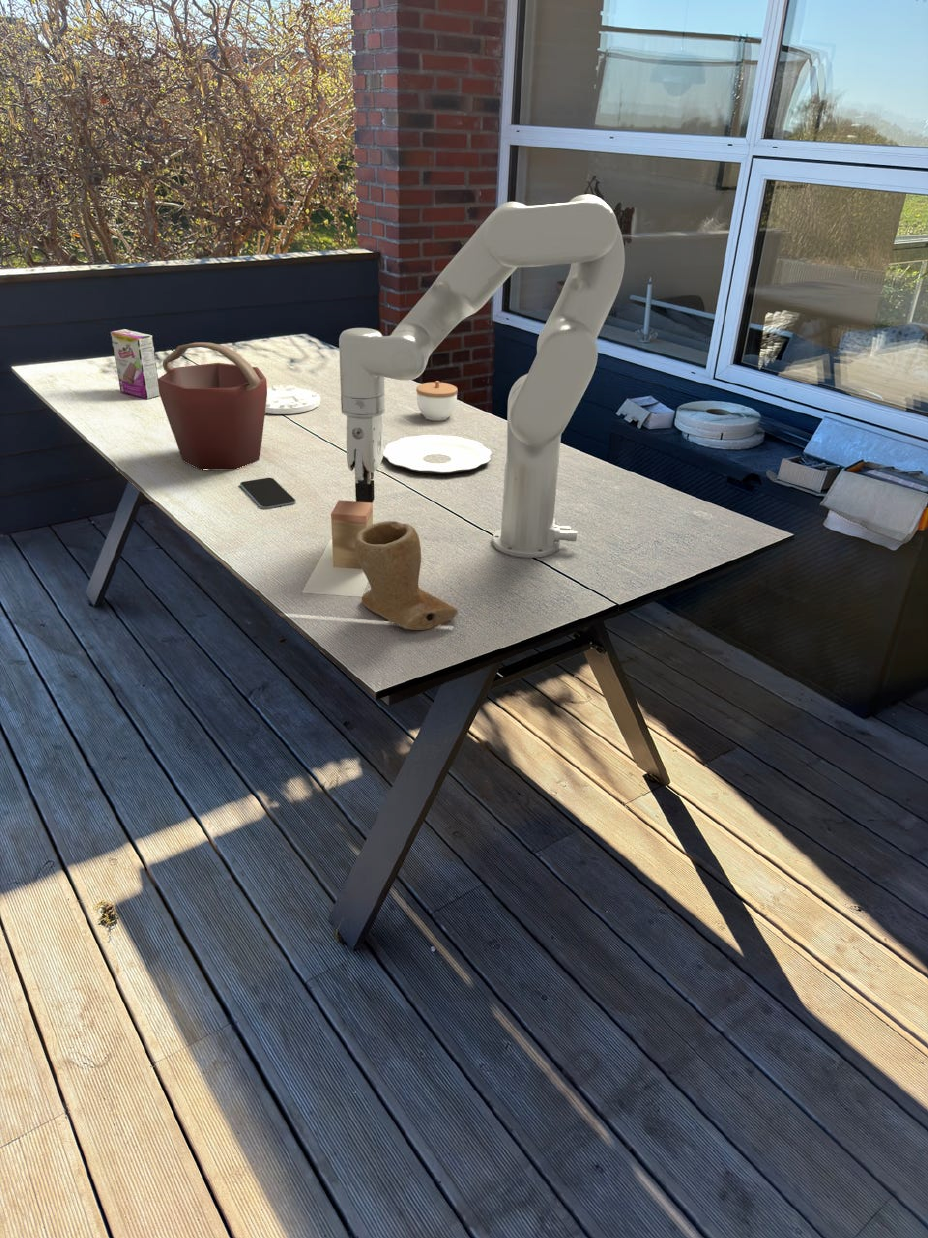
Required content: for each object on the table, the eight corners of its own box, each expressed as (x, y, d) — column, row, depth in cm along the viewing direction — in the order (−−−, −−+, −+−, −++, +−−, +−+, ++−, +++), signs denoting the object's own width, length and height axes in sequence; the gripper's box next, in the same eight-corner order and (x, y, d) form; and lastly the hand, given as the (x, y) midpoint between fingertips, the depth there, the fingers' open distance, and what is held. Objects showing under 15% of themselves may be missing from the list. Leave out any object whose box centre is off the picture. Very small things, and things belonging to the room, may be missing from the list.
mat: (384, 543, 165) (384, 541, 165) (362, 599, 146) (361, 596, 146) (331, 539, 166) (331, 537, 165) (302, 595, 147) (301, 592, 146)
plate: (427, 435, 222) (427, 428, 221) (511, 457, 209) (512, 450, 208) (360, 461, 204) (360, 453, 203) (448, 487, 191) (448, 479, 191)
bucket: (151, 454, 203) (134, 341, 190) (233, 434, 217) (223, 328, 204) (212, 483, 188) (198, 364, 176) (296, 459, 203) (288, 347, 190)
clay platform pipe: (342, 608, 143) (338, 522, 136) (400, 587, 150) (400, 504, 143) (399, 647, 134) (399, 556, 126) (459, 622, 141) (462, 536, 133)
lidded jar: (439, 425, 228) (440, 389, 223) (407, 417, 233) (407, 381, 229) (464, 416, 235) (466, 381, 231) (433, 408, 241) (434, 373, 236)
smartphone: (262, 507, 177) (238, 482, 188) (262, 512, 177) (238, 486, 188) (297, 501, 180) (272, 476, 191) (297, 505, 181) (272, 480, 192)
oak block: (373, 554, 160) (372, 502, 155) (367, 569, 154) (366, 516, 150) (340, 552, 160) (338, 500, 155) (333, 566, 155) (330, 513, 150)
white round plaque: (313, 418, 231) (312, 407, 230) (237, 415, 231) (236, 403, 230) (325, 396, 249) (324, 386, 247) (254, 393, 249) (254, 383, 247)
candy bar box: (119, 392, 244) (109, 331, 236) (133, 389, 248) (124, 328, 239) (146, 400, 239) (137, 337, 231) (161, 396, 242) (153, 334, 234)
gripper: (376, 417, 148) (377, 519, 157) (391, 392, 161) (392, 488, 170) (331, 414, 149) (335, 515, 158) (350, 390, 162) (353, 485, 171)
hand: (365, 501), depth 164 cm, fingers closed
